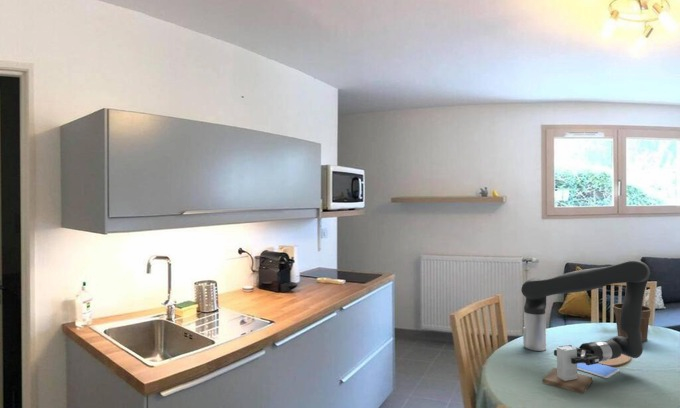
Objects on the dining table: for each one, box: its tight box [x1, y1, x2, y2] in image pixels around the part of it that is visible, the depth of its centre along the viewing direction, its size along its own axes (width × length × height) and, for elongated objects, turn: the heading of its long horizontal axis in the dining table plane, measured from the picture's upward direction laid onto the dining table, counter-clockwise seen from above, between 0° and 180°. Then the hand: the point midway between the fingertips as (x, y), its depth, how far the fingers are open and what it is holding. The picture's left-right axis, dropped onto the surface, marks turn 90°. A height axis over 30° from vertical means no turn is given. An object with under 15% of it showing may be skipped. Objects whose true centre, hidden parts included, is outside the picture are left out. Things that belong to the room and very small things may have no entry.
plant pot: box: [612, 302, 653, 343], centre depth 206 cm, size 16×16×16 cm
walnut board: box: [542, 367, 593, 394], centre depth 160 cm, size 14×14×2 cm
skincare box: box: [556, 345, 578, 381], centre depth 160 cm, size 6×4×12 cm
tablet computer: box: [577, 362, 620, 379], centre depth 173 cm, size 19×13×1 cm, turn 34°
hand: (563, 357), depth 159 cm, fingers open, 8 cm apart
